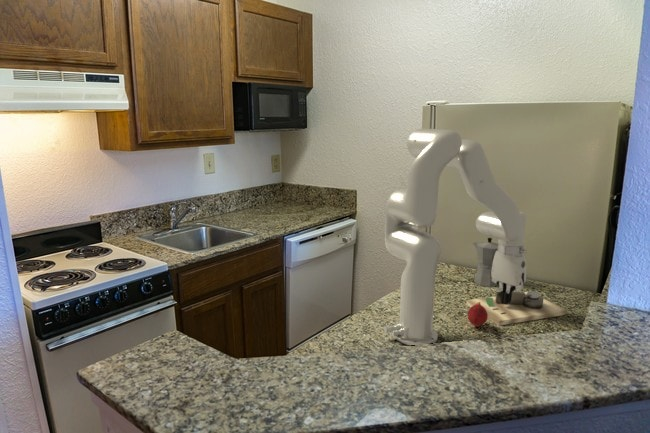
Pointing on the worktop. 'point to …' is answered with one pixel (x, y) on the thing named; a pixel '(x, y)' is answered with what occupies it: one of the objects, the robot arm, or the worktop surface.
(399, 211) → the robot arm
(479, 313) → the onion
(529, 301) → the dial
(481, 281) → the coffeepot
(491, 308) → the tuner board
